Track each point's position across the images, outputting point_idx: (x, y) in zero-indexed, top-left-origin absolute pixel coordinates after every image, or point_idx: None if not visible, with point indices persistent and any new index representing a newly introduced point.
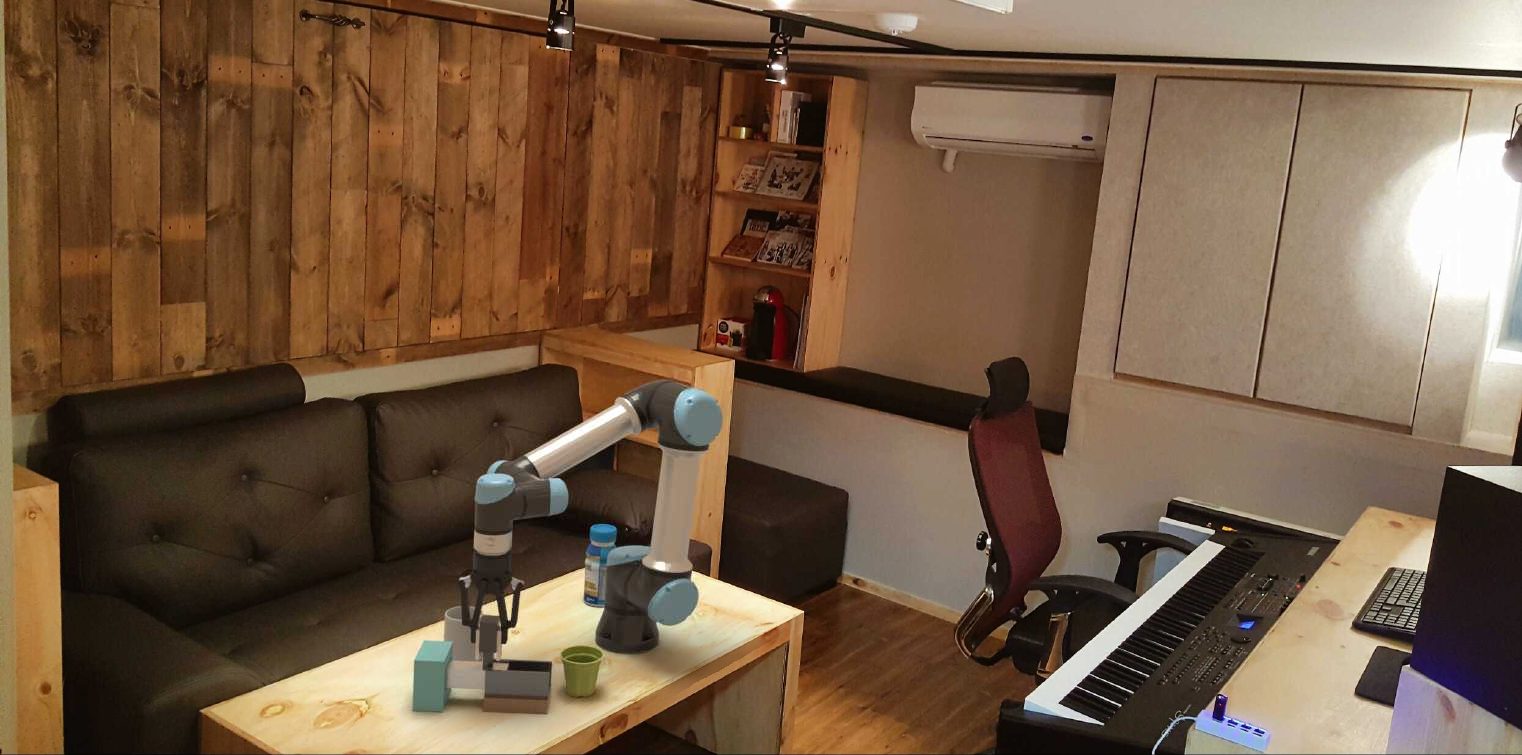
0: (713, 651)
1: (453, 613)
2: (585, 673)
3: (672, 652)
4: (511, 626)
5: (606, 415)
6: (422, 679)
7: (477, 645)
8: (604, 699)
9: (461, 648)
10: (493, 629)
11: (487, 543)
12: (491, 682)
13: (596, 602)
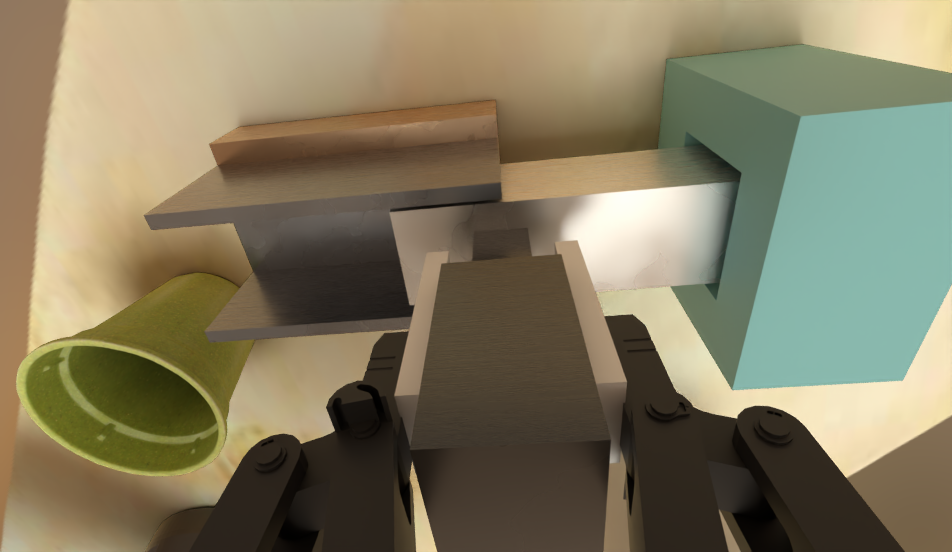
0: (18, 536)
1: None
2: (102, 323)
3: (104, 523)
4: (290, 446)
5: None
6: (864, 74)
7: (582, 295)
8: (107, 273)
9: None
10: (455, 390)
11: None
12: (465, 163)
13: None
